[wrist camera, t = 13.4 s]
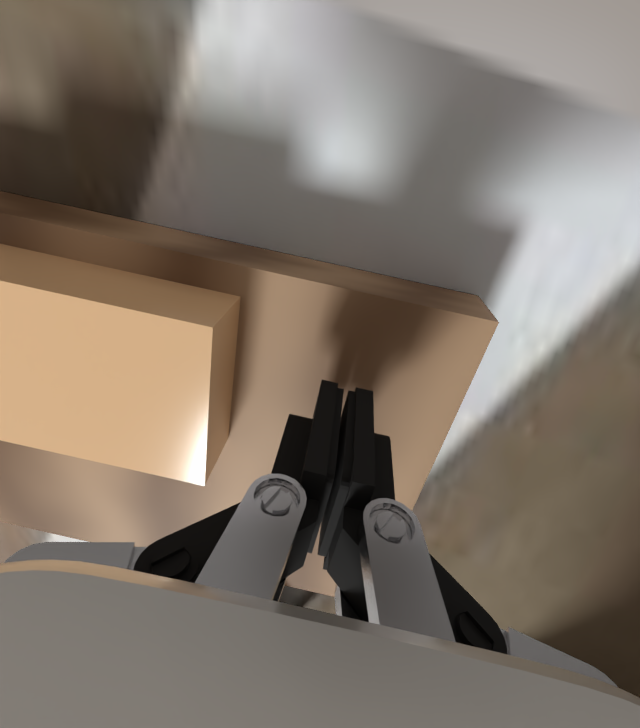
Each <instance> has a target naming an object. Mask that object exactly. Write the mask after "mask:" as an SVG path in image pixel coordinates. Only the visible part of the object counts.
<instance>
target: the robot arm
mask: <svg viewBox="0 0 640 728" xmlns="http://www.w3.org/2000/svg"><path fill="white" fill-rule="evenodd" d="M343 392H344V389H341V388H338V383H335V382H331V381H326V380H322V381H321V385H320V389H319V393H318V397H317V402H316V406H315V410H314V415H313V419H311V418H307V417H302V416H298V415H293V414H289V416H288V419H287V423H286V426H285V429H284V433H283V436H282V439H281V442H280V446H279V449H278V452H277V456H276V459H275V462H274V466H273V469H272V472H271V474H268V475H264V476H261V477H260V478H258V479H256V480H255V481H254V482H253V483H252V484H251V486H250V487H249V489H248V490H247V492H246V494H245V496H244V497H243V499H242V501H241V502H240V503H238V504H235V505H233V506H231V507H229V508H227V509H224V510H222V511H220V512H218V513H216V514H214V515H211V516H209V517H207V518H205V519H203V520H200V521H198V522H196V523H194V524H192V525H189V526H187V527H185V528H183V529H181V530H178V531H176V532H174V533H172V534H170V535H167V536H165V537H163V538H161V539H159V540H157V541H155V542H154V543H152V544H150V545H149V546H148V547H135V542H44V543H38V544H33V545H30V546H28V547H26V548H23V549H21V550H19V551H18V552H16V553H15V554H13V555H12V556H11V557H9V558H8V559H7V560H6V561H5V562H4V563H1V564H0V728H640V698H639V697H637V696H635V695H633V694H631V693H629V692H627V691H624V690H622V689H620V688H618V687H617V685H616V684H615V683H614V682H613V681H612V680H611V679H610V678H609V677H607V676H606V675H605V674H604V673H603V672H601V671H599V670H598V669H596V668H595V667H593V666H591V665H589V664H587V663H585V662H583V661H581V660H578V659H576V658H574V657H572V656H570V655H568V654H566V653H563V652H561V651H559V650H557V649H555V648H553V647H550V646H548V645H546V644H544V643H542V642H540V641H538V640H535V639H533V638H531V637H529V636H527V635H525V634H523V633H520V632H518V631H516V630H514V629H512V628H510V627H508V628H507V629H506V630H503V629H500V628H499V626H498V625H497V623H496V622H495V621H494V620H493V618H492V617H491V616H490V615H489V614H488V613H487V612H486V611H485V610H484V609H483V608H482V607H481V606H480V604H479V603H478V602H477V601H476V600H475V599H474V598H473V597H472V596H471V595H470V594H469V593H468V592H467V591H466V590H465V589H464V588H463V587H462V586H461V585H460V584H459V583H458V582H457V581H456V580H455V579H454V578H453V577H452V576H451V575H450V574H449V573H448V572H447V571H446V570H445V569H444V568H443V567H442V566H441V565H440V564H439V563H438V562H437V561H436V560H435V559H434V558H433V557H432V556H431V555H430V554H429V552H428V548H427V545H426V542H425V539H424V535H423V532H422V529H421V525H420V523H419V521H418V519H417V517H416V516H415V514H414V513H413V512H412V511H411V510H410V509H409V508H408V507H406V506H405V505H404V504H402V503H400V502H398V501H396V500H395V490H394V477H393V465H392V452H391V441H390V437H389V436H386V435H381V434H377V433H374V400H373V391H371V390H366V389H362V388H357V387H356V389H355V391H350V390H349V391H348V394H347V397H346V401H345V404H344V408H343V411H342V402H343ZM341 412H342V415H341ZM320 525H321V529H320V537H319V545H318V555H320V556H324V563H323V569H324V570H327V572H328V574H329V575H330V576H331V578H332V579H333V580H334V582H335V583H336V586H335V606H336V615H335V614H330V613H326V612H321V611H317V610H313V609H308V608H304V607H299V606H295V605H291V604H286V603H282V602H279V600H280V597H281V594H282V592H283V589H284V586H285V583H286V579H287V577H288V576H289V575H291V574H292V573H294V572H295V571H297V570H298V569H300V568H301V567H303V566H304V562H305V559H306V555H307V553H311V554H312V551H313V548H314V545H315V541H316V538H317V535H318V532H319V528H320Z"/></svg>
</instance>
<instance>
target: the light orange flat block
mask: <svg viewBox="0 0 640 728" xmlns="http://www.w3.org/2000/svg"><path fill="white" fill-rule="evenodd" d="M240 299H241V297H240V296H236V295H231V294H226V293H222V292H217V291H213V290H208V289H204V288H199V287H195V286H190V285H186V284H181V283H177V282H172V281H168V280H163V279H158V278H154V277H149V276H145V275H140V274H136V273H131V272H127V271H122V270H118V269H113V268H109V267H104V266H99V265H95V264H90V263H86V262H81V261H77V260H72V259H68V258H63V257H59V256H54V255H50V254H45V253H40V252H36V251H31V250H27V249H22V248H18V247H13V246H9V245H4V244H0V440H1V441H5V442H10V443H14V444H19V445H23V446H28V447H32V448H37V449H41V450H46V451H50V452H54V453H59V454H63V455H68V456H72V457H77V458H81V459H86V460H90V461H95V462H99V463H104V464H108V465H113V466H117V467H122V468H126V469H131V470H135V471H140V472H144V473H148V474H153V475H157V476H162V477H166V478H171V479H175V480H180V481H184V482H189V483H193V484H198V485H202V486H205V484H206V482H207V480H208V478H209V476H210V474H211V472H212V470H213V468H214V466H215V464H216V462H217V460H218V458H219V456H220V454H221V452H222V450H223V448H224V446H225V444H226V442H227V440H228V435H229V424H230V413H231V401H232V390H233V379H234V367H235V356H236V344H237V333H238V322H239V310H240Z"/></svg>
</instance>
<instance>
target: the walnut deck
mask: <svg viewBox="0 0 640 728" xmlns="http://www.w3.org/2000/svg"><path fill="white" fill-rule="evenodd" d="M0 244H4V245H9V246H13V247H18V248H22V249H27V250H31V251H36V252H40V253H45V254H50V255H54V256H59V257H63V258H68V259H72V260H77V261H81V262H86V263H90V264H95V265H99V266H104V267H109V268H113V269H118V270H122V271H127V272H131V273H136V274H140V275H145V276H149V277H154V278H158V279H163V280H168V281H172V282H177V283H181V284H186V285H190V286H195V287H199V288H204V289H208V290H213V291H217V292H222V293H226V294H231V295H236V296H240V297H241V299H240V310H239V322H238V333H237V344H236V356H235V367H234V379H233V390H232V401H231V413H230V424H229V435H228V440H227V442H226V444H225V446H224V448H223V450H222V452H221V454H220V456H219V458H218V460H217V462H216V464H215V466H214V468H213V470H212V472H211V474H210V476H209V478H208V480H207V482H206V484H205V486H202V485H198V484H193V483H189V482H184V481H180V480H175V479H171V478H166V477H162V476H157V475H153V474H148V473H144V472H140V471H135V470H131V469H126V468H122V467H117V466H113V465H108V464H104V463H99V462H95V461H90V460H86V459H81V458H77V457H72V456H68V455H63V454H59V453H54V452H50V451H46V450H41V449H37V448H32V447H28V446H23V445H19V444H14V443H10V442H5V441H1V440H0V522H4V523H8V524H13V525H17V526H22V527H26V528H31V529H35V530H39V531H44V532H48V533H53V534H57V535H62V536H66V537H71V538H75V539H79V540H84V541H88V542H135V547H148V546H149V545H150V544H152V543H154V542H155V541H157V540H159V539H161V538H163V537H165V536H167V535H170V534H172V533H174V532H176V531H178V530H181V529H183V528H185V527H187V526H189V525H192V524H194V523H196V522H198V521H200V520H203V519H205V518H207V517H209V516H211V515H214V514H216V513H218V512H220V511H222V510H224V509H227V508H229V507H231V506H233V505H235V504H238V503H240V502H241V501H242V499H243V497H244V496H245V494H246V492H247V490H248V489H249V487H250V486H251V484H252V483H253V482H254V481H255V480H256V479H258V478H260V477H261V476H264V475H268V474H271V472H272V469H273V466H274V462H275V459H276V456H277V452H278V449H279V446H280V442H281V439H282V436H283V433H284V429H285V426H286V423H287V419H288V416H289V414H293V415H298V416H302V417H307V418H311V419H313V415H314V410H315V406H316V402H317V397H318V393H319V389H320V385H321V381H322V380H326V381H331V382H335V383H338V388H341V389H344V392H343V402H342V411H343V408H344V404H345V401H346V397H347V394H348V391H349V390H350V391H355V389H356V387H357V388H362V389H366V390H371V391H373V400H374V433H377V434H381V435H386V436H389V437H390V441H391V452H392V465H393V477H394V490H395V500H396V501H398V502H400V503H402V504H404V505H405V506H406V507H408V508H409V509H410V510H411V511H412V509H413V507H414V505H415V503H416V501H417V499H418V496H419V494H420V492H421V490H422V488H423V486H424V483H425V481H426V479H427V477H428V475H429V473H430V470H431V468H432V466H433V464H434V462H435V460H436V457H437V455H438V453H439V451H440V449H441V447H442V444H443V442H444V440H445V438H446V436H447V434H448V431H449V429H450V427H451V425H452V423H453V421H454V418H455V416H456V414H457V412H458V410H459V407H460V405H461V403H462V401H463V399H464V397H465V394H466V392H467V390H468V388H469V386H470V384H471V381H472V379H473V377H474V375H475V373H476V371H477V368H478V366H479V364H480V362H481V360H482V358H483V355H484V353H485V351H486V349H487V347H488V345H489V342H490V340H491V338H492V336H493V334H494V332H495V329H496V327H497V325H498V323H499V322H498V321H497V319H496V318H495V317H494V315H493V314H492V313H491V312H490V310H489V309H488V308H487V306H486V305H485V304H484V303H483V301H482V300H481V299H480V298H479V296H477V295H472V294H468V293H463V292H459V291H454V290H449V289H445V288H440V287H436V286H431V285H427V284H422V283H418V282H413V281H408V280H404V279H399V278H395V277H390V276H386V275H381V274H377V273H372V272H367V271H363V270H358V269H354V268H349V267H345V266H340V265H336V264H331V263H326V262H322V261H317V260H313V259H308V258H304V257H299V256H295V255H290V254H285V253H281V252H276V251H272V250H267V249H263V248H258V247H254V246H249V245H245V244H240V243H235V242H231V241H226V240H222V239H217V238H213V237H208V236H204V235H199V234H194V233H190V232H185V231H181V230H176V229H172V228H167V227H163V226H158V225H153V224H149V223H144V222H140V221H135V220H131V219H126V218H122V217H117V216H112V215H108V214H103V213H99V212H94V211H90V210H85V209H81V208H76V207H71V206H67V205H62V204H58V203H53V202H49V201H44V200H40V199H35V198H30V197H26V196H21V195H17V194H12V193H8V192H3V191H0ZM341 415H342V412H341ZM320 529H321V525H320V528H319V532H318V535H317V538H316V541H315V545H314V548H313V551H312V554H311V553H307V555H306V559H305V562H304V566H303V567H301V568H300V569H298V570H297V571H295V572H294V573H292V574H291V575H289V576H288V577H287V579H286V583H285V586H289V587H293V588H298V589H302V590H307V591H311V592H315V593H320V594H324V595H329V596H333V597H335V586H336V583H335V582H334V580H333V579H332V578H331V576H330V575H329V574H328V572H327V570H324V569H323V563H324V556H320V555H318V545H319V537H320Z"/></svg>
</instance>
